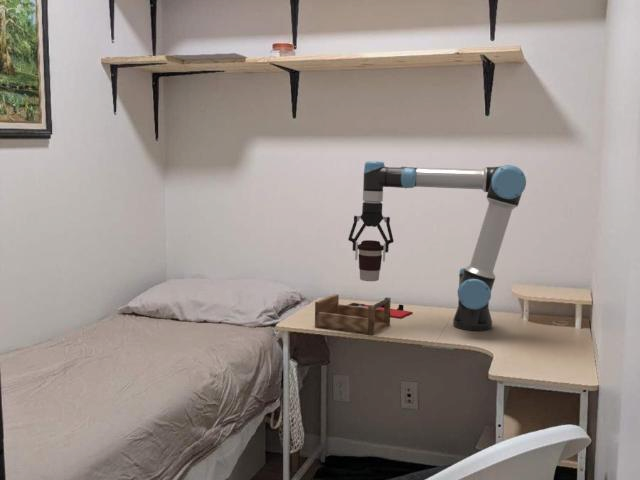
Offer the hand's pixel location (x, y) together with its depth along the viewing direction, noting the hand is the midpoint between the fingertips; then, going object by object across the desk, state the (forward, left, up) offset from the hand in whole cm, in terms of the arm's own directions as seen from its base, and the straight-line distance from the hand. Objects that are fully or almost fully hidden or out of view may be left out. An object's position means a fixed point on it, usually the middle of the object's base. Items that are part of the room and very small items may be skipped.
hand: (370, 260), depth 267 cm
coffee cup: (0, 0, -8) cm, 8 cm away
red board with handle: (+8, -29, -27) cm, 41 cm away
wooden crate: (+6, +1, -26) cm, 27 cm away
